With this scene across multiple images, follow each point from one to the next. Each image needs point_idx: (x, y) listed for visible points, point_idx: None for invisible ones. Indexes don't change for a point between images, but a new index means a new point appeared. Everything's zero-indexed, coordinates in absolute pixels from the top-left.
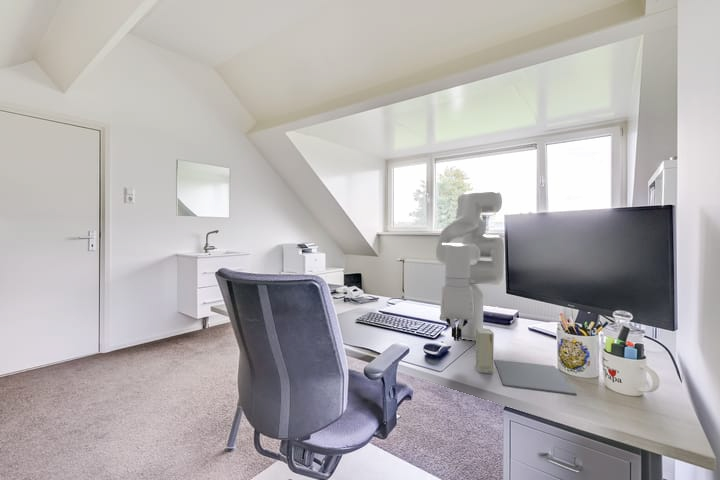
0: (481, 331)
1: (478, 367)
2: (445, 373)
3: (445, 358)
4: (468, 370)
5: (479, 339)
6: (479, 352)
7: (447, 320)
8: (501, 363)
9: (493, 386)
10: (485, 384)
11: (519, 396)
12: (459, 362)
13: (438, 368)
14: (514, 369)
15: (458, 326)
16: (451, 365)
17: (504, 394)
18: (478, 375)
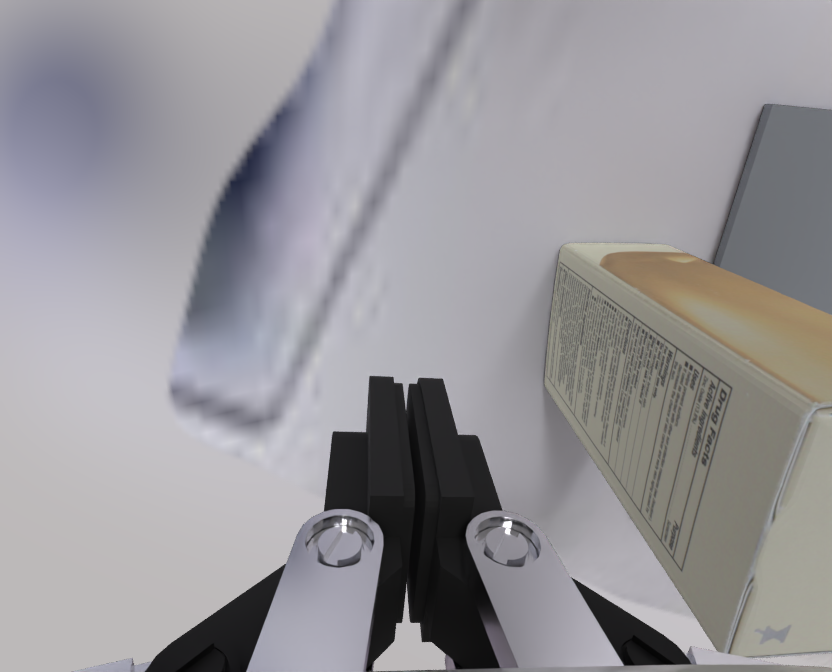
0: (793, 596)
1: (554, 381)
2: (303, 444)
3: (299, 146)
4: (475, 361)
5: (674, 583)
6: (606, 480)
7: None
8: (791, 193)
9: (574, 528)
10: (536, 518)
11: (665, 585)
12: (427, 219)
13: (247, 379)
14: (828, 296)
15: (446, 641)
16: (351, 300)
17: (599, 586)
18: (527, 421)
